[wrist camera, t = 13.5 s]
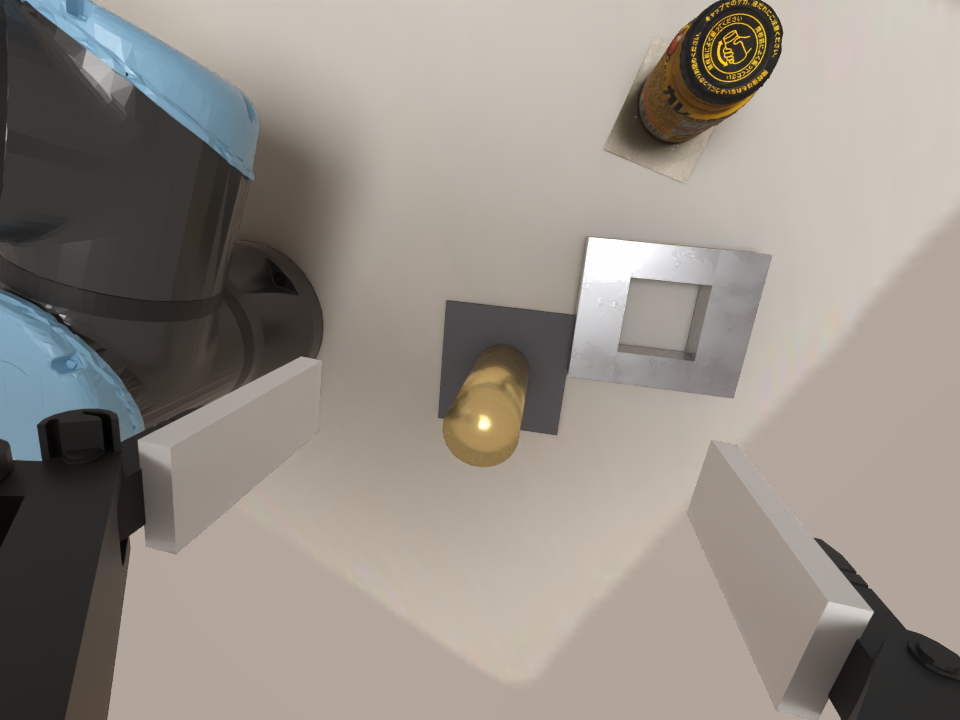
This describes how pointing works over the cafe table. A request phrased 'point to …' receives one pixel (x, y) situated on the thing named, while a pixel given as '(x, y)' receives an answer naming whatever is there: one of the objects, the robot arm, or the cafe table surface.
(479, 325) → the mat
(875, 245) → the cafe table surface
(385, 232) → the cafe table surface
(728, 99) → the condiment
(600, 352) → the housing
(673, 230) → the cafe table surface
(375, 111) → the cafe table surface
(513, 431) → the gold rounded cylinder
